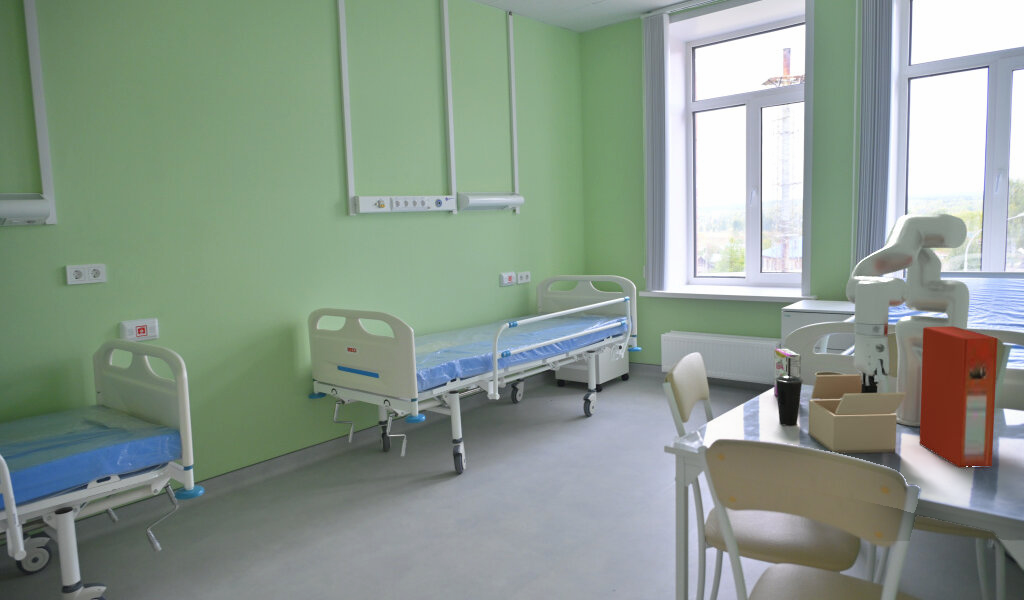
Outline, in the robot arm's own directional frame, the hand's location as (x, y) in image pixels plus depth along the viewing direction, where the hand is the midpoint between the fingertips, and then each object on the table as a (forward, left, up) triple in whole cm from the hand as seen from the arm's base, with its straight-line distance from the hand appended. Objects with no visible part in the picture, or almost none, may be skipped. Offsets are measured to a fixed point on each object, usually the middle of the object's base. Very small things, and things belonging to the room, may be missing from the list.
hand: (869, 399), depth 172 cm
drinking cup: (+10, -28, -15) cm, 33 cm away
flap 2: (0, 0, -1) cm, 1 cm away
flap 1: (0, -16, -1) cm, 15 cm away
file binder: (-21, +1, -15) cm, 26 cm away
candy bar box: (+1, -55, -15) cm, 57 cm away
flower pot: (-13, -53, -15) cm, 56 cm away
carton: (0, -10, -15) cm, 18 cm away
